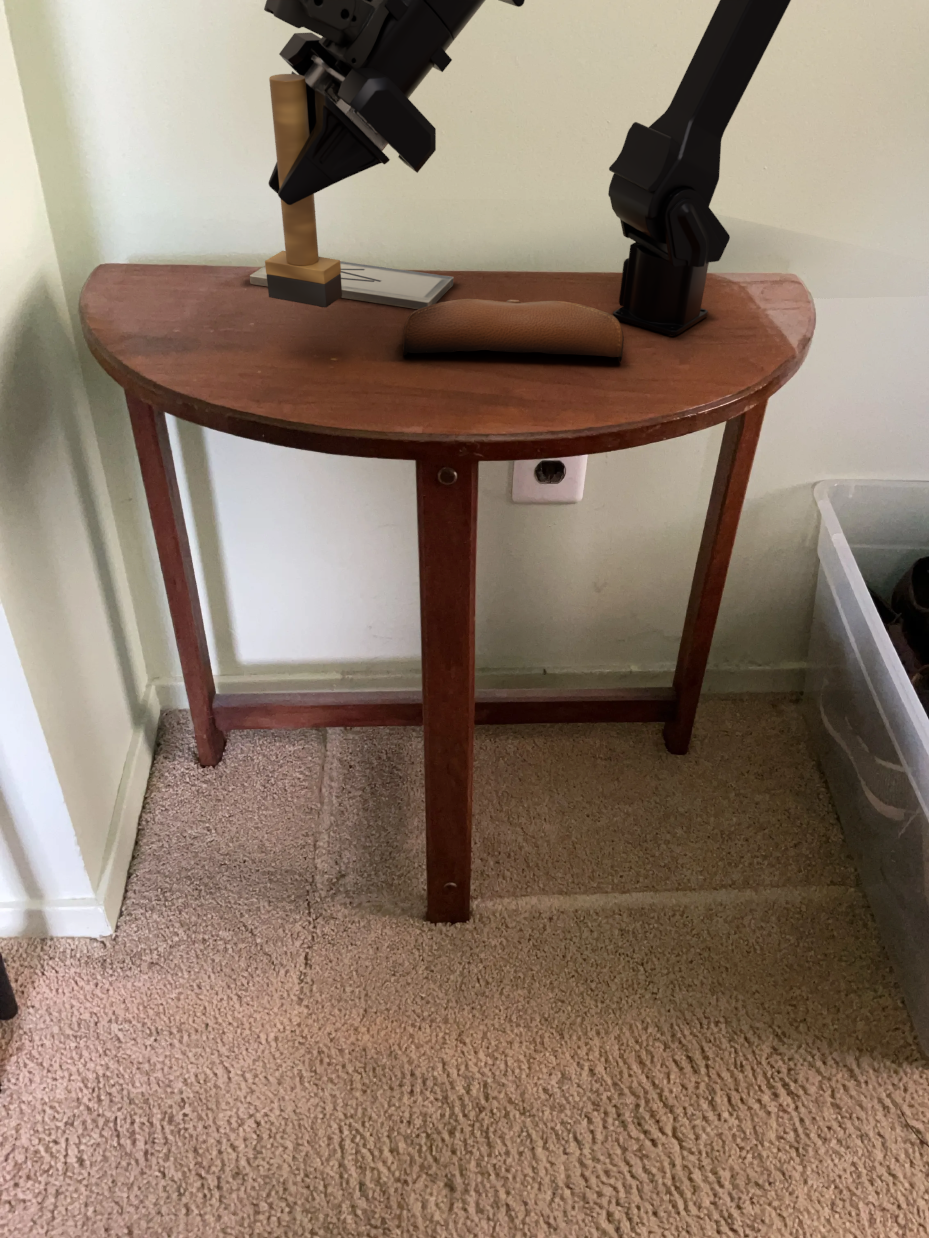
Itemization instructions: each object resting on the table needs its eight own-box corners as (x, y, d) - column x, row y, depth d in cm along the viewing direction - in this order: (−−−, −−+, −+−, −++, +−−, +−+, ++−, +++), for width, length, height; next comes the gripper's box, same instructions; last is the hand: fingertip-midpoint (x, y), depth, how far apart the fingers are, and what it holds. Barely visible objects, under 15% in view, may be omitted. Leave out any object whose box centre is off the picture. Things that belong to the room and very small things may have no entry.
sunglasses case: (612, 322, 87) (624, 271, 81) (614, 391, 84) (627, 343, 78) (408, 317, 87) (404, 264, 81) (404, 385, 84) (400, 336, 78)
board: (453, 285, 95) (453, 276, 94) (428, 311, 90) (428, 302, 89) (283, 260, 99) (283, 252, 99) (250, 284, 94) (249, 275, 93)
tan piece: (342, 296, 76) (329, 77, 66) (326, 308, 74) (310, 84, 65) (285, 286, 77) (265, 70, 68) (268, 297, 75) (244, 77, 66)
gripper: (296, -103, 68) (161, 85, 72) (383, -83, 55) (212, 147, 59) (405, 24, 76) (278, 189, 79) (506, 69, 62) (347, 265, 66)
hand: (278, 195), depth 71 cm, fingers closed on tan piece, 2 cm apart
